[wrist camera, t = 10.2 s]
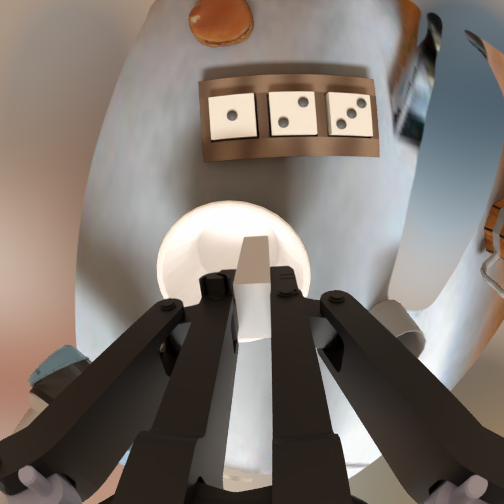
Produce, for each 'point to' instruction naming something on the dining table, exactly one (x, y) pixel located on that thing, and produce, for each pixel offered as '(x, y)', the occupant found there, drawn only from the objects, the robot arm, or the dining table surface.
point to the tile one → (232, 117)
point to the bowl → (224, 247)
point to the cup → (400, 325)
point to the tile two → (292, 113)
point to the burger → (221, 22)
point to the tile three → (348, 114)
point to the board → (264, 143)
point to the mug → (494, 242)
